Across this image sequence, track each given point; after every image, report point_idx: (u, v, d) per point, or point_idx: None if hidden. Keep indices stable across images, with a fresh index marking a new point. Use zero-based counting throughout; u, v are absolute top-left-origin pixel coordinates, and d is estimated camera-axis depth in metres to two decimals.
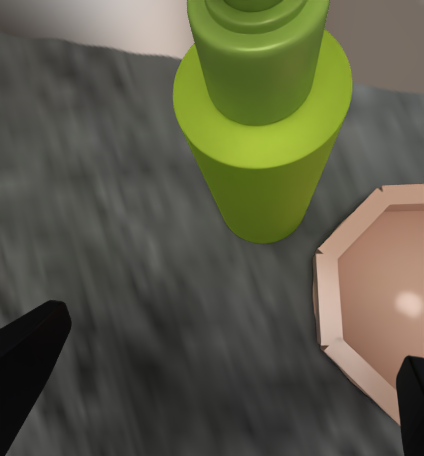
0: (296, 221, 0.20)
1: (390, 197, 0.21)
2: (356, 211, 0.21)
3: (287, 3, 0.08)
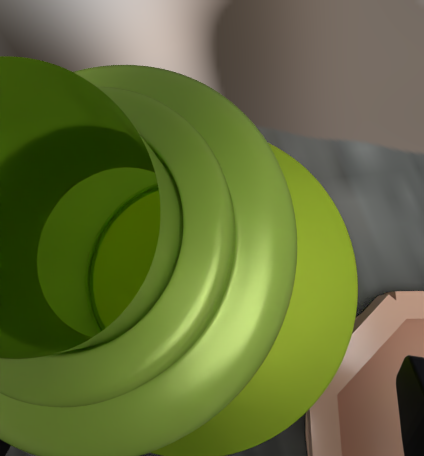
0: None
1: (406, 308, 0.16)
2: (361, 327, 0.16)
3: (148, 335, 0.02)
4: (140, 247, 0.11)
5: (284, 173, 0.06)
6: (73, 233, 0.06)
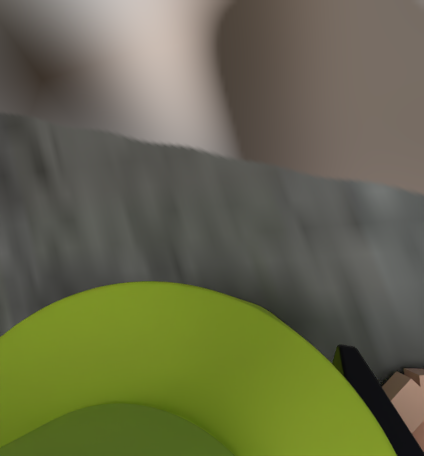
0: None
1: None
2: None
3: None
4: None
5: (306, 390, 0.04)
6: None
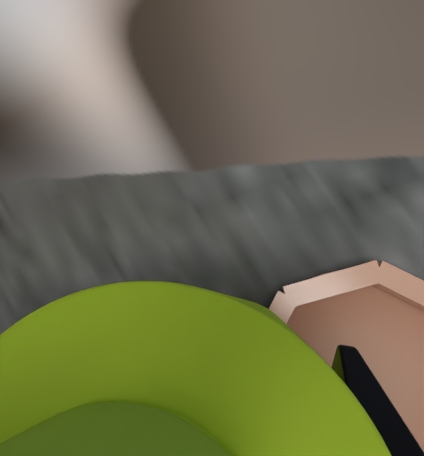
0: None
1: (294, 298, 0.19)
2: None
3: None
4: None
5: (300, 388, 0.04)
6: None
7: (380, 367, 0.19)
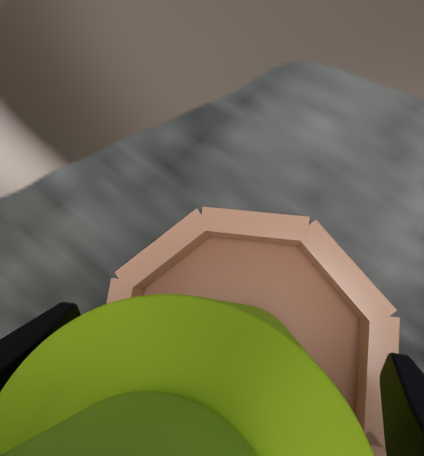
0: None
1: (129, 279, 0.17)
2: None
3: None
4: None
5: (290, 378, 0.05)
6: None
7: None
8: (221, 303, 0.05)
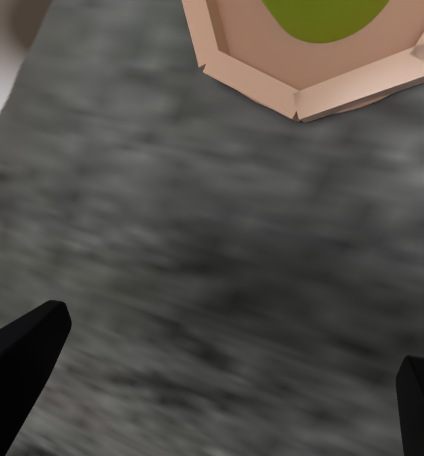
0: None
1: None
2: (183, 0, 0.17)
3: None
4: None
5: None
6: None
7: None
8: None
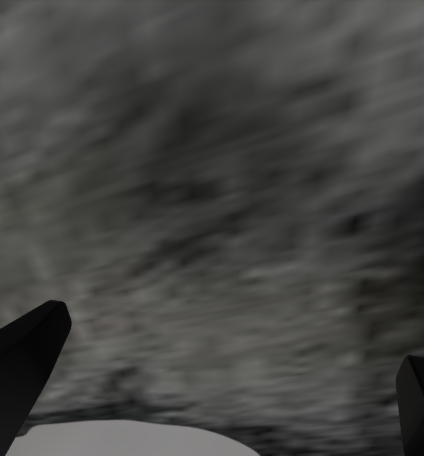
0: None
1: None
2: None
3: None
4: None
5: None
6: None
7: None
8: None
